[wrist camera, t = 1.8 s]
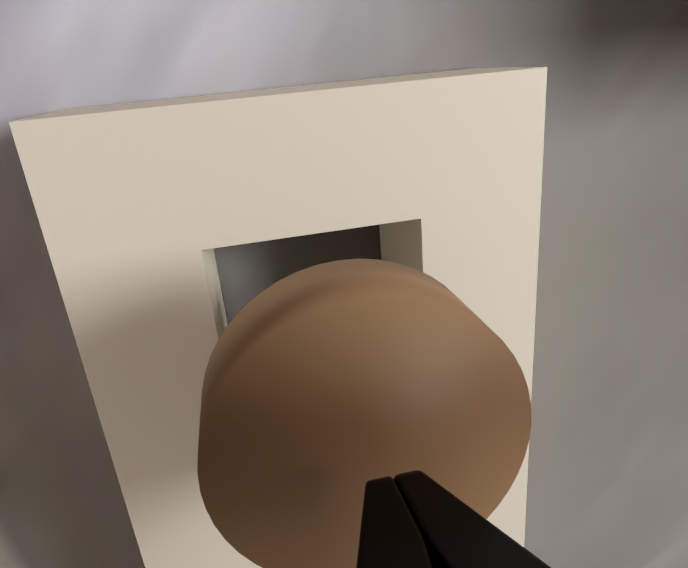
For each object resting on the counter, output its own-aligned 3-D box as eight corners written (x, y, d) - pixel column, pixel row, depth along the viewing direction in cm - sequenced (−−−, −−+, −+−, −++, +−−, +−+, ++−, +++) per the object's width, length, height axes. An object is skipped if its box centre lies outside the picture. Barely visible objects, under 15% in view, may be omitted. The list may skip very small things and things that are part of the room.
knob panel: (471, 608, 24) (516, 704, 20) (216, 675, 22) (215, 794, 18) (471, 68, 16) (547, 66, 12) (65, 108, 14) (8, 121, 10)
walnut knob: (436, 404, 15) (525, 543, 10) (227, 445, 14) (229, 617, 10) (430, 202, 13) (539, 269, 8) (184, 236, 12) (161, 332, 7)
